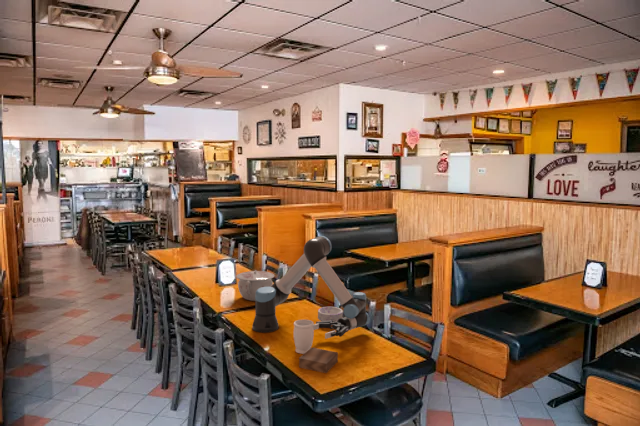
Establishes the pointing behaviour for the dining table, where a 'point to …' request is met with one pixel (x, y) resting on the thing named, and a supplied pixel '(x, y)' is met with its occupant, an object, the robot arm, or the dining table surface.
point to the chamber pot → (253, 283)
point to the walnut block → (318, 360)
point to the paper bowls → (330, 314)
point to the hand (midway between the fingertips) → (317, 332)
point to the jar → (303, 335)
